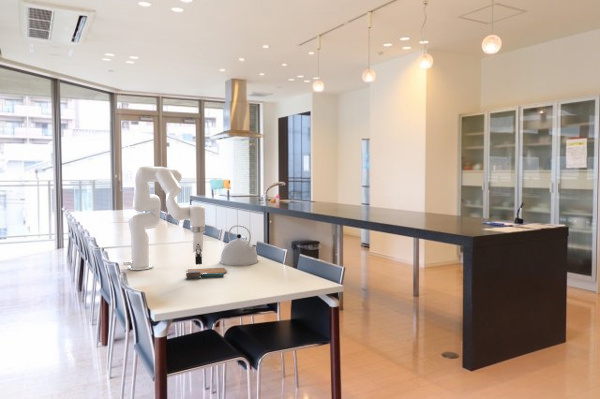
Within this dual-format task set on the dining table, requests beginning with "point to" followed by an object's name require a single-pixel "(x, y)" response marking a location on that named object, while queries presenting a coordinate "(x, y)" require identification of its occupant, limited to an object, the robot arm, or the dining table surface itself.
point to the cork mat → (209, 270)
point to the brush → (202, 275)
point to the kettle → (239, 251)
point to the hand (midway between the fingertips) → (198, 262)
